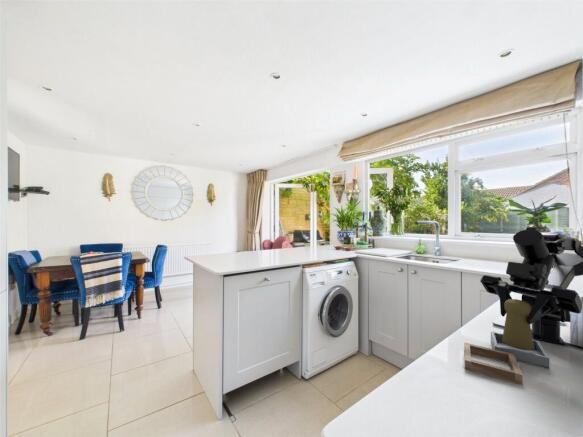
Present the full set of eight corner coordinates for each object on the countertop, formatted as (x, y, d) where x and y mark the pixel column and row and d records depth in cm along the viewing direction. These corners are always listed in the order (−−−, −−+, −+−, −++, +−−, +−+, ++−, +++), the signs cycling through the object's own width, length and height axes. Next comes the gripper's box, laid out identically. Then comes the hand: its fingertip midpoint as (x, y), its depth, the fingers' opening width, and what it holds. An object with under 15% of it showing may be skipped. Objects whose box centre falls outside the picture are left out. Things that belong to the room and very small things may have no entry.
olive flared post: (541, 351, 60) (541, 305, 59) (511, 349, 61) (511, 303, 61) (523, 339, 66) (523, 297, 65) (496, 337, 67) (496, 296, 67)
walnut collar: (464, 350, 64) (464, 342, 64) (513, 362, 59) (513, 353, 59) (465, 368, 56) (465, 360, 56) (522, 384, 51) (522, 375, 51)
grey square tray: (490, 340, 70) (490, 331, 70) (538, 350, 64) (538, 340, 64) (494, 356, 62) (494, 345, 62) (549, 369, 56) (549, 358, 56)
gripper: (483, 246, 73) (461, 290, 68) (578, 255, 56) (558, 313, 51) (497, 270, 77) (477, 313, 72) (590, 285, 60) (572, 342, 55)
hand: (514, 319), depth 62 cm, fingers closed on olive flared post, 5 cm apart
